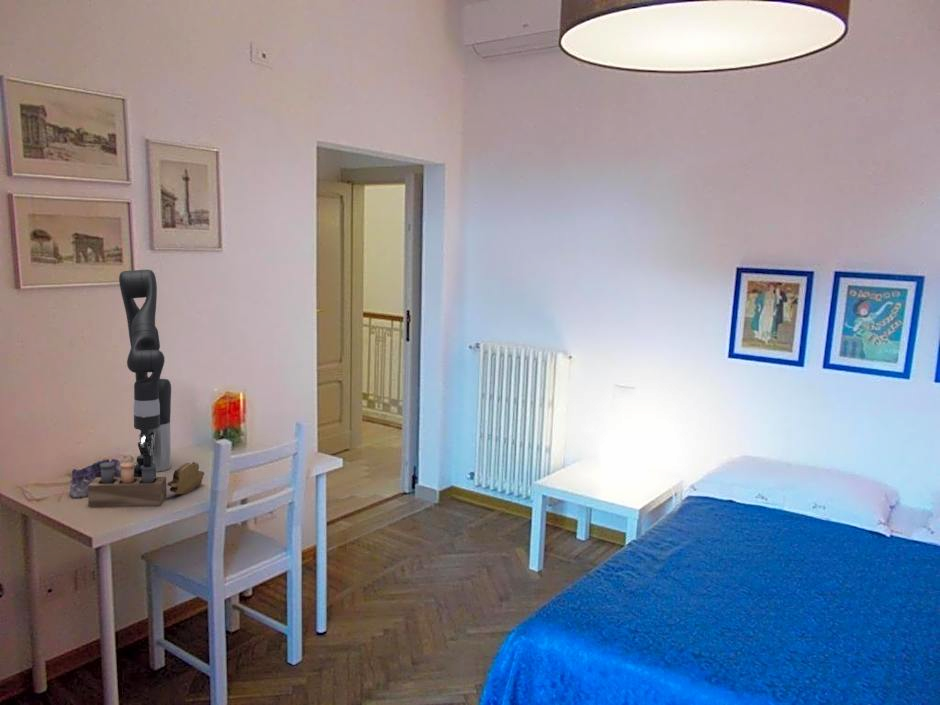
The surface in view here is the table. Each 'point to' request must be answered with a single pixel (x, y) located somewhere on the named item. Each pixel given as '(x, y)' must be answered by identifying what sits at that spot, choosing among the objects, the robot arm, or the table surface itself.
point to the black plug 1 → (107, 473)
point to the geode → (88, 478)
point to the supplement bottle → (138, 467)
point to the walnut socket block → (127, 493)
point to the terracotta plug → (127, 472)
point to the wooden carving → (186, 478)
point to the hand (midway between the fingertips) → (147, 466)
